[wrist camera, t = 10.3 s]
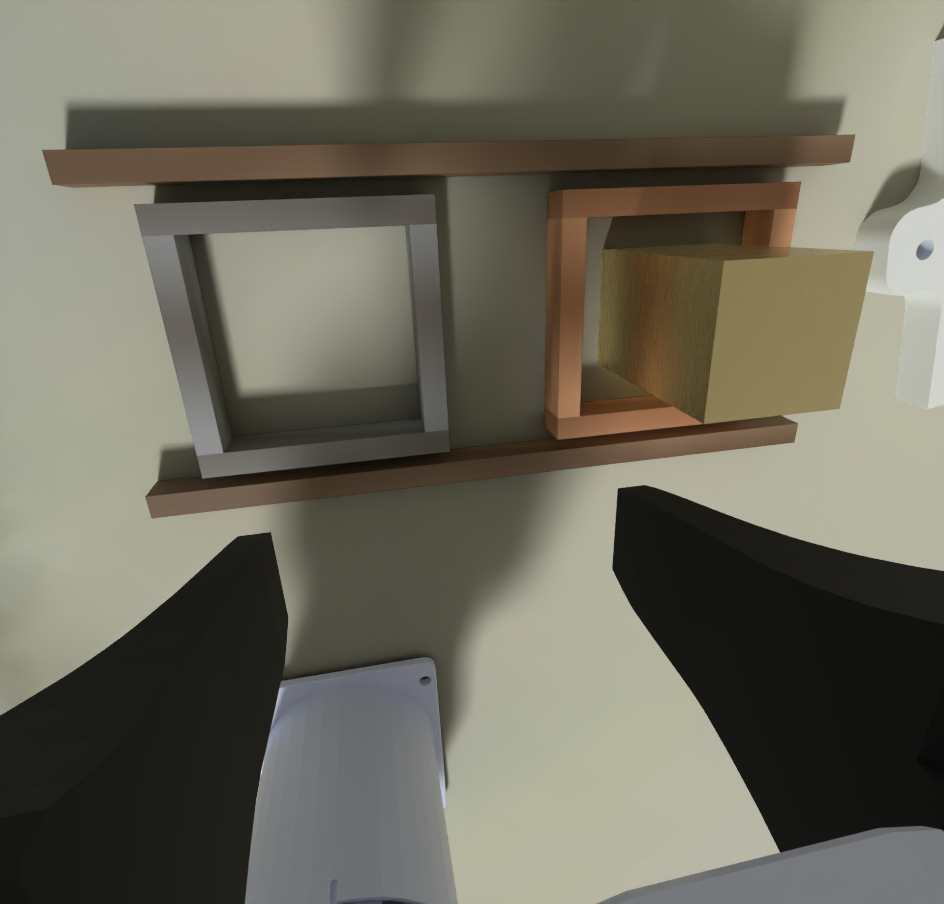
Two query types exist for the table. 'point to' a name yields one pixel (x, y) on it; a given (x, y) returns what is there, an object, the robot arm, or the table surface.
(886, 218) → the mounting plate
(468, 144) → the socket rail
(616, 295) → the brass block
